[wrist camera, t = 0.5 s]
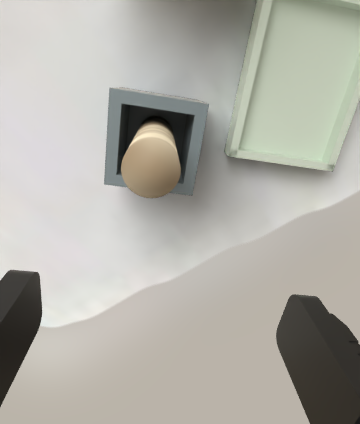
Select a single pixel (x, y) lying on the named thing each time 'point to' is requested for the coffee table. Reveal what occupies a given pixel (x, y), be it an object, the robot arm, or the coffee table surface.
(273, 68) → the tray
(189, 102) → the grey square box
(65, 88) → the coffee table surface
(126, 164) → the dowel
